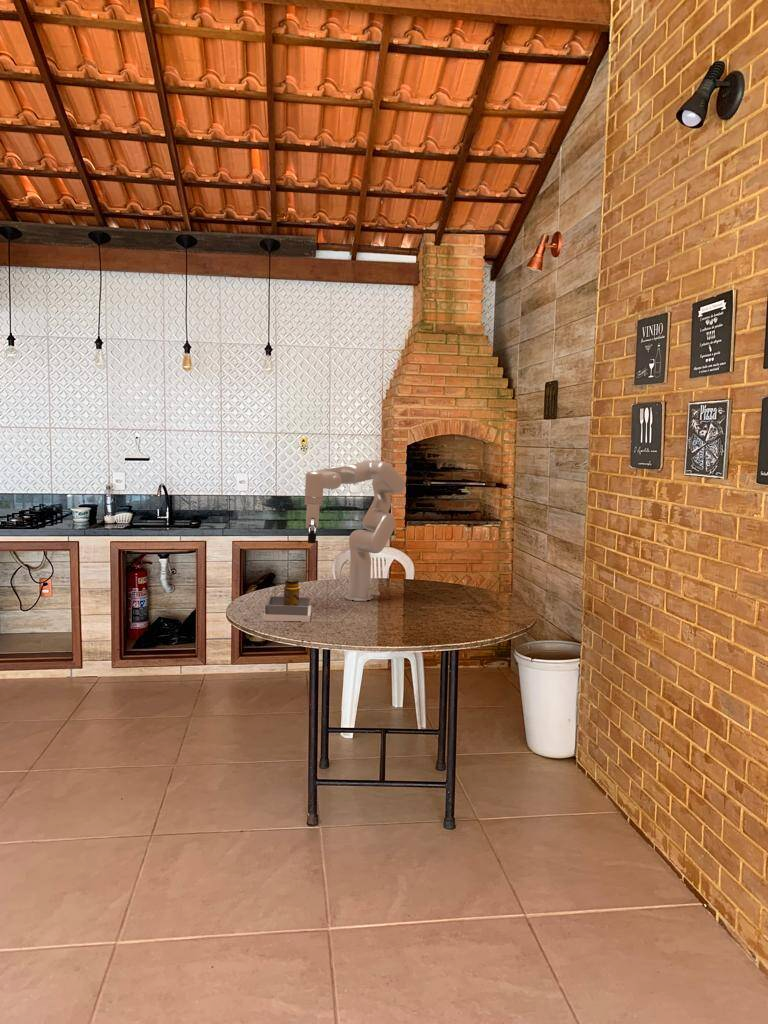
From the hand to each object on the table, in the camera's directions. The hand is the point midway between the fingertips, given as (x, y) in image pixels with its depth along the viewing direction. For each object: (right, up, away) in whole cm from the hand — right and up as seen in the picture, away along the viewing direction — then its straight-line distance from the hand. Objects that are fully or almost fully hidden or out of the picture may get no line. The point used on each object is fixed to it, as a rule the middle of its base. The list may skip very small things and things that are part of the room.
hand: (312, 541), depth 293 cm
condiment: (-8, -27, -14) cm, 32 cm away
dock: (-8, -29, -14) cm, 33 cm away
